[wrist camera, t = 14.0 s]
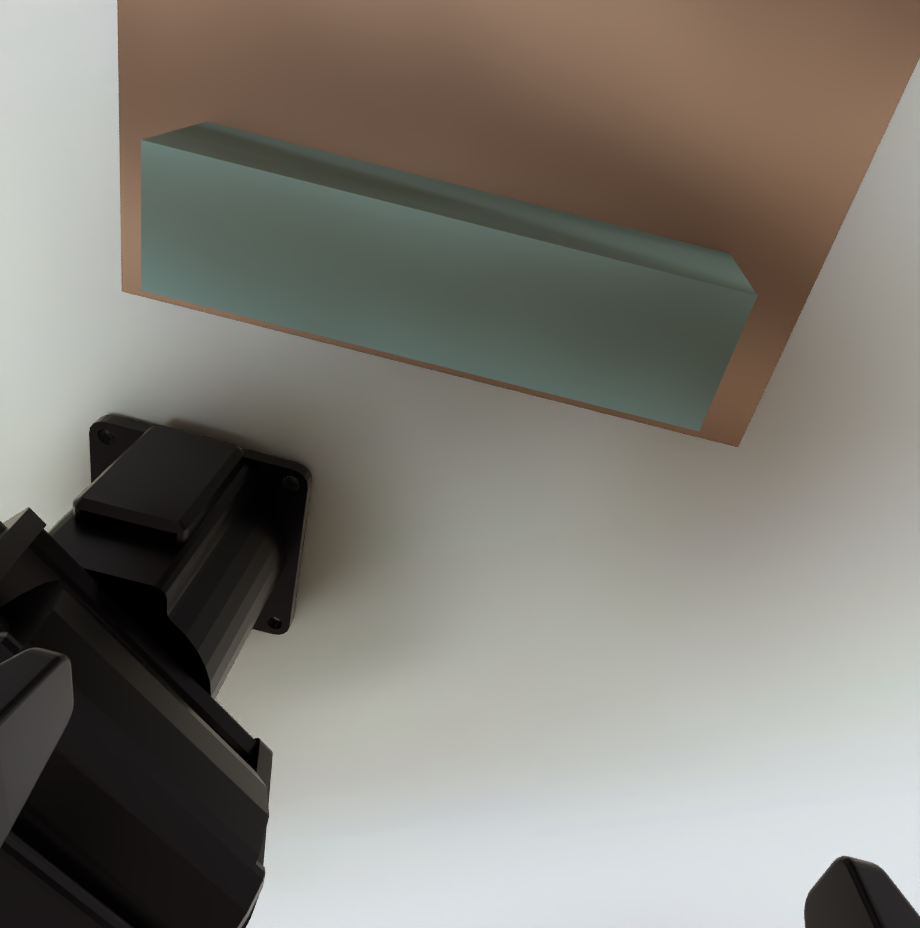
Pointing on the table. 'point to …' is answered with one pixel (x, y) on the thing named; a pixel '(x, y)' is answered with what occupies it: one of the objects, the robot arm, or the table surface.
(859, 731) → the table surface
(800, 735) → the table surface
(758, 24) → the ring
